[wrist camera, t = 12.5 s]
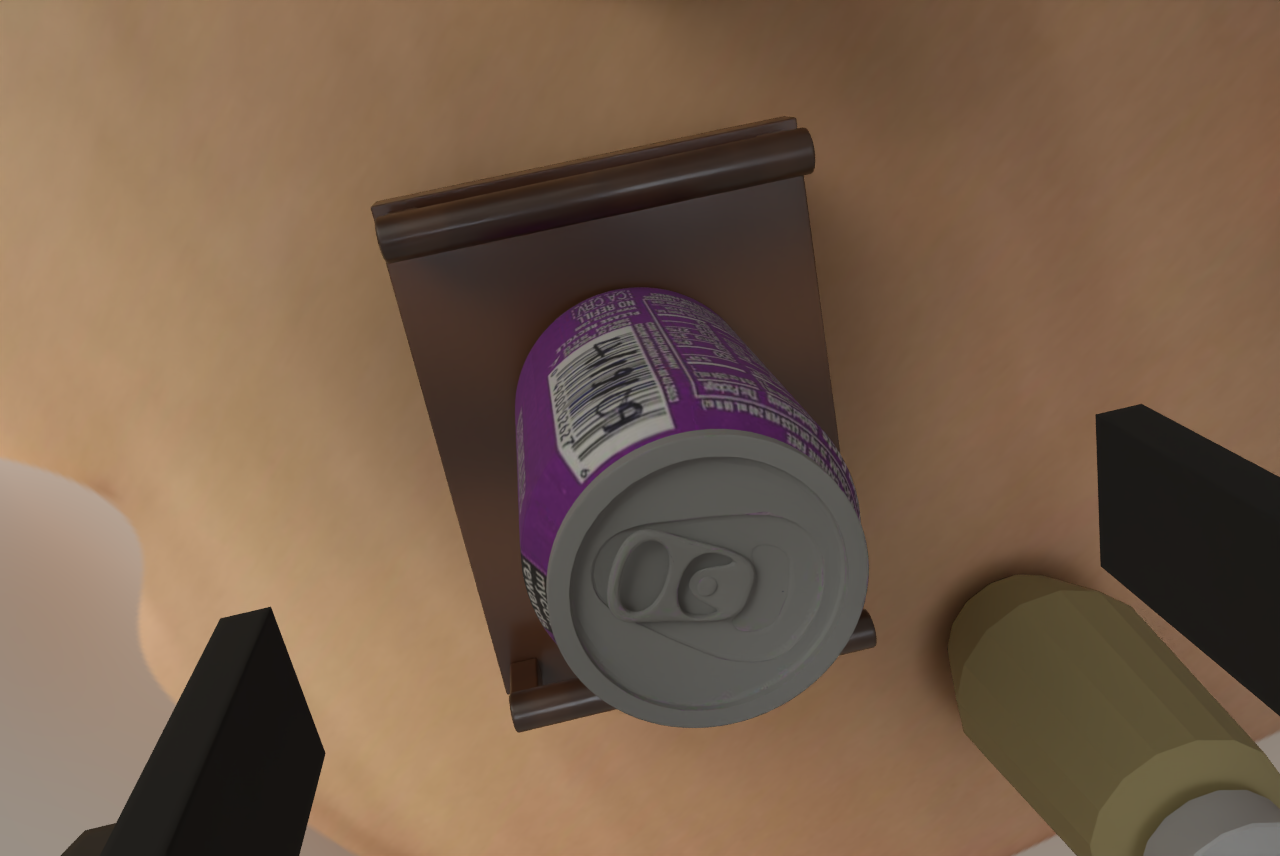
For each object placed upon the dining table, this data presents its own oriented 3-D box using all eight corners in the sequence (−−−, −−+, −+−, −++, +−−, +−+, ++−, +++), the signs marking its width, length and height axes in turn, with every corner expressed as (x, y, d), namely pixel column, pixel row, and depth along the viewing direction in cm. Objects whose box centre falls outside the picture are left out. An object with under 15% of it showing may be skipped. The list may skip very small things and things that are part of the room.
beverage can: (494, 487, 31) (487, 725, 19) (541, 258, 29) (565, 375, 17) (717, 525, 32) (832, 768, 21) (778, 309, 30) (942, 448, 19)
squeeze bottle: (1014, 510, 41) (1375, 816, 24) (1141, 612, 43) (1551, 956, 26) (880, 656, 42) (1132, 1041, 25) (1010, 747, 45) (1319, 1154, 28)
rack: (394, 183, 34) (356, 219, 25) (744, 110, 34) (825, 121, 26) (506, 599, 39) (507, 746, 31) (806, 529, 40) (890, 654, 31)
